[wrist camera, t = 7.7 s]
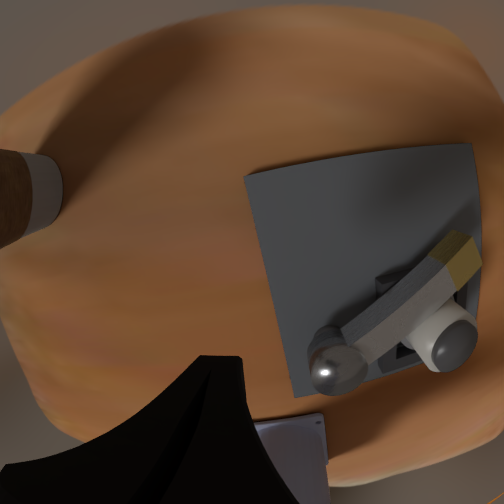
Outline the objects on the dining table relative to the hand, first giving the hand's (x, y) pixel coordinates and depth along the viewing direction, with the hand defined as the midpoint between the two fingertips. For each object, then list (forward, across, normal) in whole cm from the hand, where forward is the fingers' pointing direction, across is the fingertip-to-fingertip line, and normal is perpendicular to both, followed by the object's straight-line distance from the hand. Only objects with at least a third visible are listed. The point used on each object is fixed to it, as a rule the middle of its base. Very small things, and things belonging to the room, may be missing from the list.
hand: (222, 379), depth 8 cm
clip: (+7, -9, +1) cm, 11 cm away
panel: (+9, -10, 0) cm, 13 cm away
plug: (+9, -12, +3) cm, 16 cm away
